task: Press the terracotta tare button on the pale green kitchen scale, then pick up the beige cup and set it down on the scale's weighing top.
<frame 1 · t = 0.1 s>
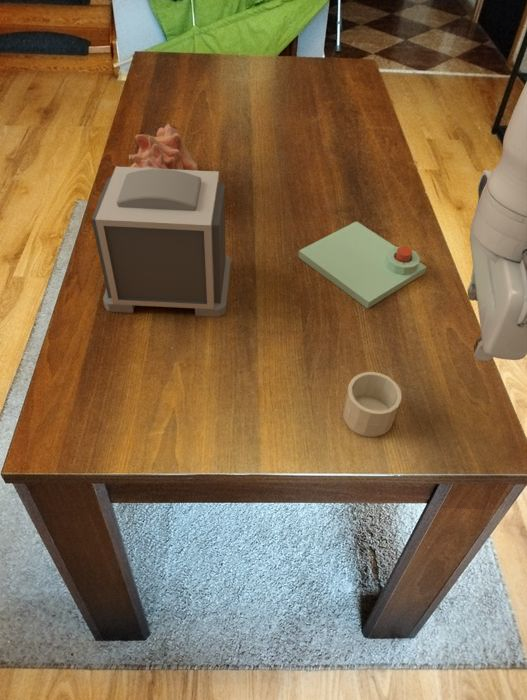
hand: (477, 324, 64), 16 cm above the table, tool pointing down, fingers open, 8 cm apart
beige cup: (367, 415, 75), on the table
seashell: (162, 196, 107), on the table
alarm clock: (170, 286, 90), on the table
scale: (360, 265, 96), on the table
tare button: (403, 254, 92), point 3 cm above the table, slide at 0.1 cm
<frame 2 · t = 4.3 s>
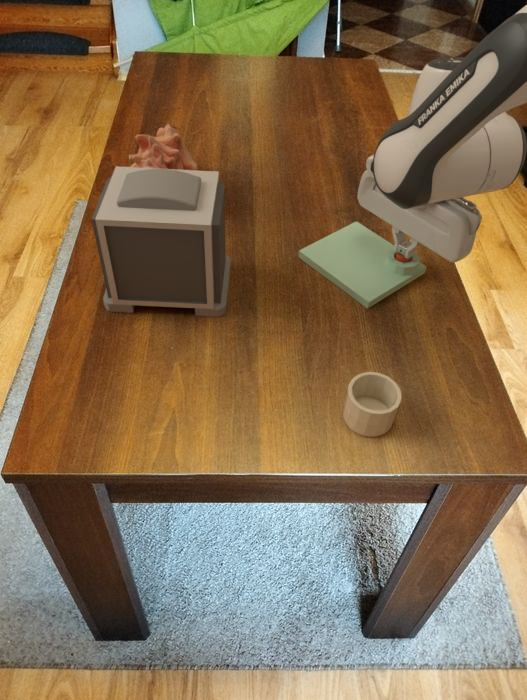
hand: (403, 253, 92), 4 cm above the table, tool pointing down, fingers closed, pressing on tare button
tare button: (403, 257, 93), point 3 cm above the table, slide at -0.4 cm, touching gripper
everything else where it was.
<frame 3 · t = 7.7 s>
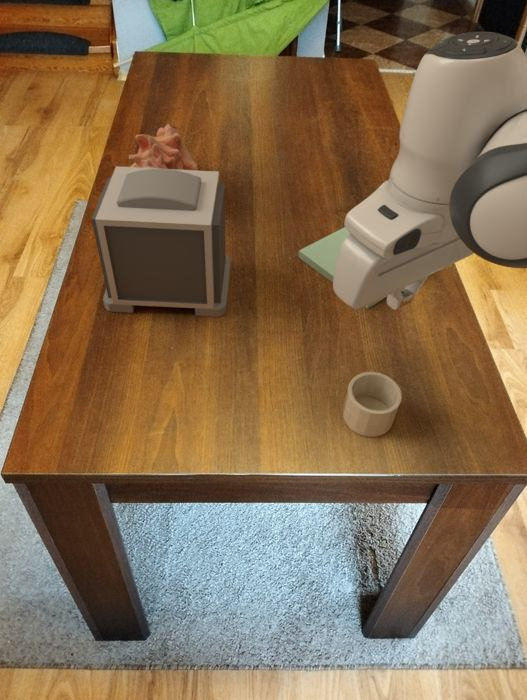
hand: (399, 303, 69), 14 cm above the table, tool pointing down, fingers closed
tare button: (403, 254, 92), point 3 cm above the table, slide at 0.1 cm
everything else where it was.
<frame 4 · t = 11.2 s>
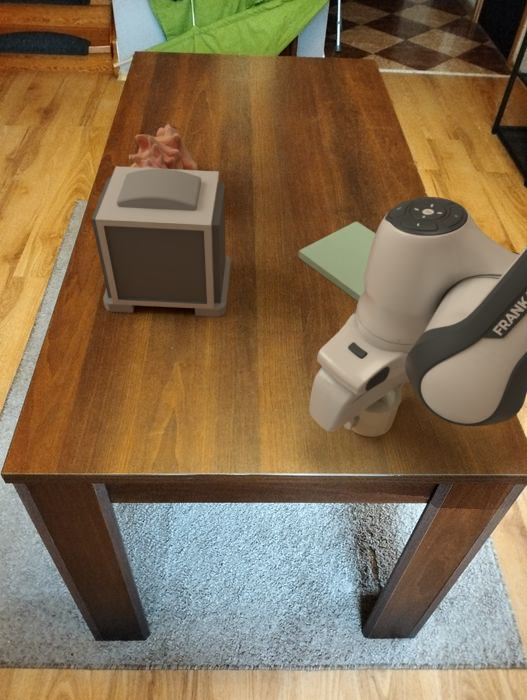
hand: (369, 408, 73), 2 cm above the table, tool pointing down, fingers closed on beige cup, 6 cm apart
beige cup: (367, 415, 75), on the table, touching gripper
everything else where it was.
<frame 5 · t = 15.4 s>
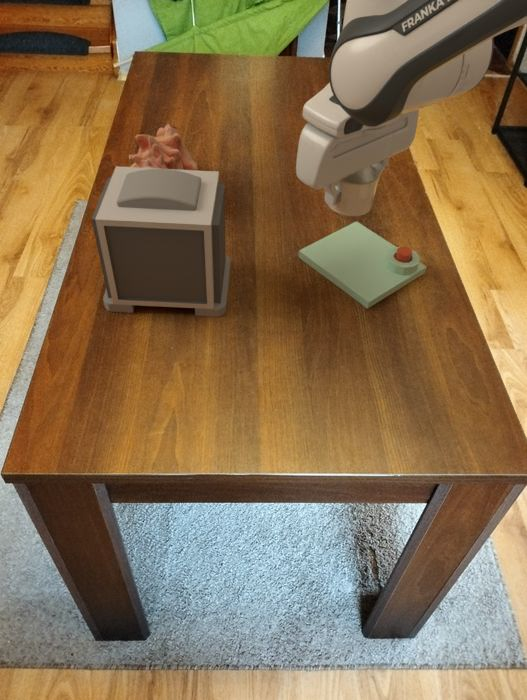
hand: (351, 193, 82), 15 cm above the table, tool pointing down, fingers closed on beige cup, 6 cm apart
beige cup: (349, 203, 83), point 14 cm above the table, touching gripper
everything else where it was.
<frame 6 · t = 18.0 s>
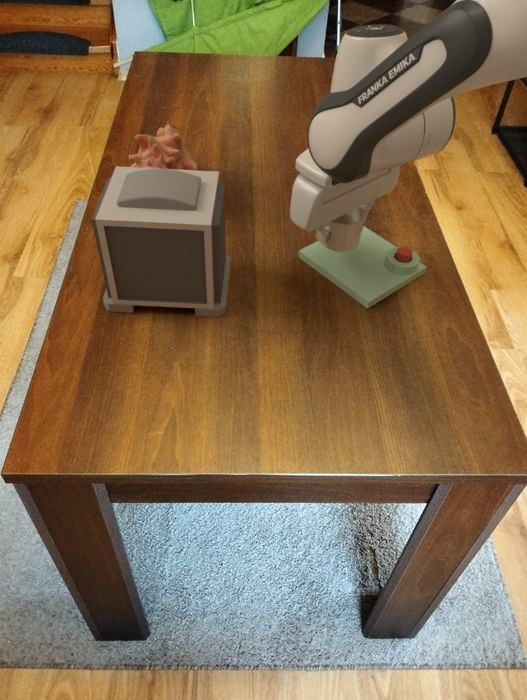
hand: (340, 231, 91), 6 cm above the table, tool pointing down, fingers closed on beige cup, 6 cm apart
beige cup: (339, 239, 92), point 5 cm above the table, touching gripper
everything else where it was.
when the fingers open (3 cm above the table, at t = 19.8 s): beige cup stays where it is, resting on scale.
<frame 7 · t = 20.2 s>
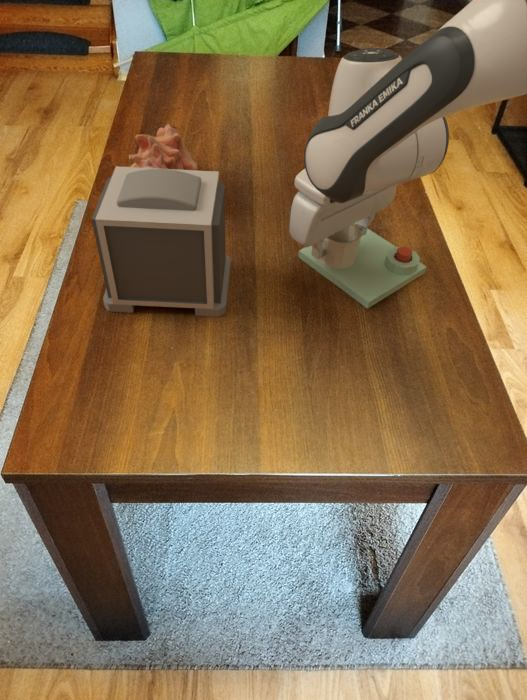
hand: (339, 245, 93), 4 cm above the table, tool pointing down, fingers open, 8 cm apart
beige cup: (336, 256, 95), point 1 cm above the table, touching scale
everything else where it was.
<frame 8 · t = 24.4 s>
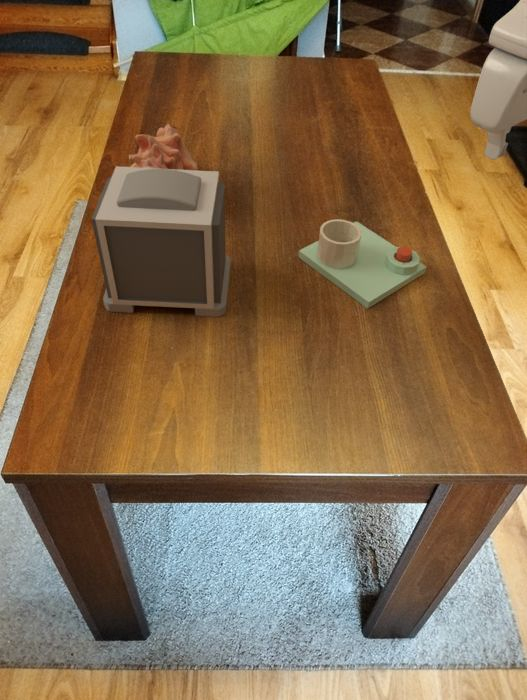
hand: (515, 144, 69), 27 cm above the table, tool pointing down, fingers open, 8 cm apart
nothing on the table moved.
at the end: tare button pushed in 0.9 cm at the most during the clip, back to where it started at the end; beige cup inside the target area on the scale (2.1 cm from its centre), point 1.4 cm above the scale's base; beige cup tilted 0° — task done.
